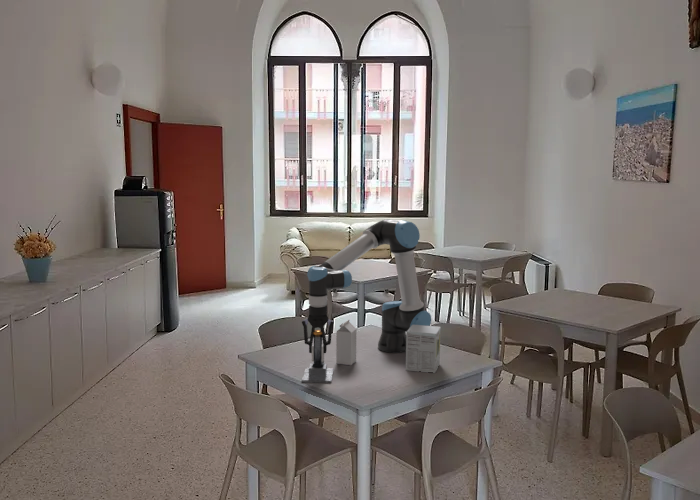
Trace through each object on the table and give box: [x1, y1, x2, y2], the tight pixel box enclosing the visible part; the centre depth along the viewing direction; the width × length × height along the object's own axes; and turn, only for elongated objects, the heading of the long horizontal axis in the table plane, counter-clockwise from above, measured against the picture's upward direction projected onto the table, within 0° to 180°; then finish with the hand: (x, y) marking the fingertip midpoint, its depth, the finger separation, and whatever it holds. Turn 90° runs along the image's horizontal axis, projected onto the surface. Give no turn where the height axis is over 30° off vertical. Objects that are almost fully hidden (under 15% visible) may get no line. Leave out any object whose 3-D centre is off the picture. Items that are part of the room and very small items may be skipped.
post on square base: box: [301, 343, 334, 384], centre depth 262 cm, size 12×16×12 cm
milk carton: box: [335, 319, 357, 366], centre depth 280 cm, size 7×7×19 cm
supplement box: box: [405, 325, 442, 374], centre depth 274 cm, size 13×13×18 cm
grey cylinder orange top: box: [313, 329, 323, 365], centre depth 260 cm, size 5×5×14 cm
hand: (317, 360), depth 260 cm, fingers closed on grey cylinder orange top, 3 cm apart
